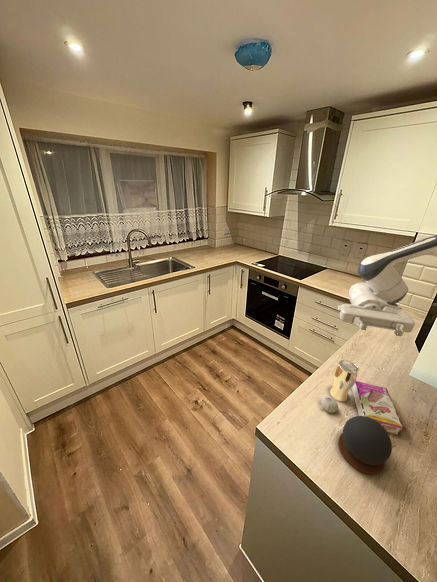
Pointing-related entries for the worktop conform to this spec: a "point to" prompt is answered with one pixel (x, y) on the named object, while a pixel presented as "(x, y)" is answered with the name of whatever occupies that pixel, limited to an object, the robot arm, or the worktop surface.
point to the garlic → (329, 404)
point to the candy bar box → (376, 406)
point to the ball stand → (365, 445)
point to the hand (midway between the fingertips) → (381, 331)
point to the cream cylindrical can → (344, 379)
